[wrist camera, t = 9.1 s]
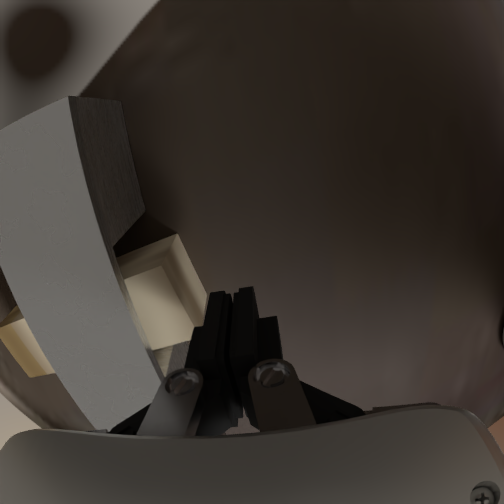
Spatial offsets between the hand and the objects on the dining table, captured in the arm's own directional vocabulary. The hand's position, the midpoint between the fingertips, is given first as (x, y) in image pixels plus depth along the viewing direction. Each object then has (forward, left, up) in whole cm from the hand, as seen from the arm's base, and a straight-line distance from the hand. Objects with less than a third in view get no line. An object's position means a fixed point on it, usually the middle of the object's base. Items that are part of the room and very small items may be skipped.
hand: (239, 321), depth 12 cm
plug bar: (+9, +1, -6) cm, 11 cm away
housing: (+7, 0, -6) cm, 9 cm away
